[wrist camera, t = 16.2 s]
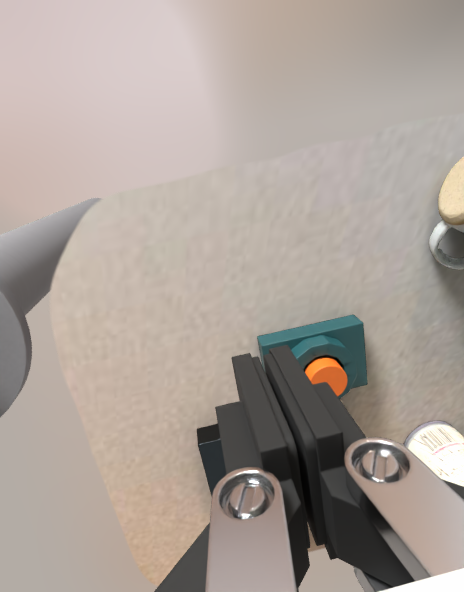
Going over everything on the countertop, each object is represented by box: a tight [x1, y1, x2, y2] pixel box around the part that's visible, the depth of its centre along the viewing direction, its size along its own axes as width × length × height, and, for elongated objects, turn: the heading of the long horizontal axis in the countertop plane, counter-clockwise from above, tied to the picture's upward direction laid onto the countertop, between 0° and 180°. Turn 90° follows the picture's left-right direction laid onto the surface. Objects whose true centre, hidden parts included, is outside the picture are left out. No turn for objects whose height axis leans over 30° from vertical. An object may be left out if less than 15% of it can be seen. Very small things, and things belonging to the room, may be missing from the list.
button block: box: [257, 315, 367, 399], centre depth 38 cm, size 10×7×4 cm
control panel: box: [197, 424, 227, 496], centre depth 42 cm, size 12×10×3 cm
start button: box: [304, 357, 347, 397], centre depth 35 cm, size 4×4×2 cm
